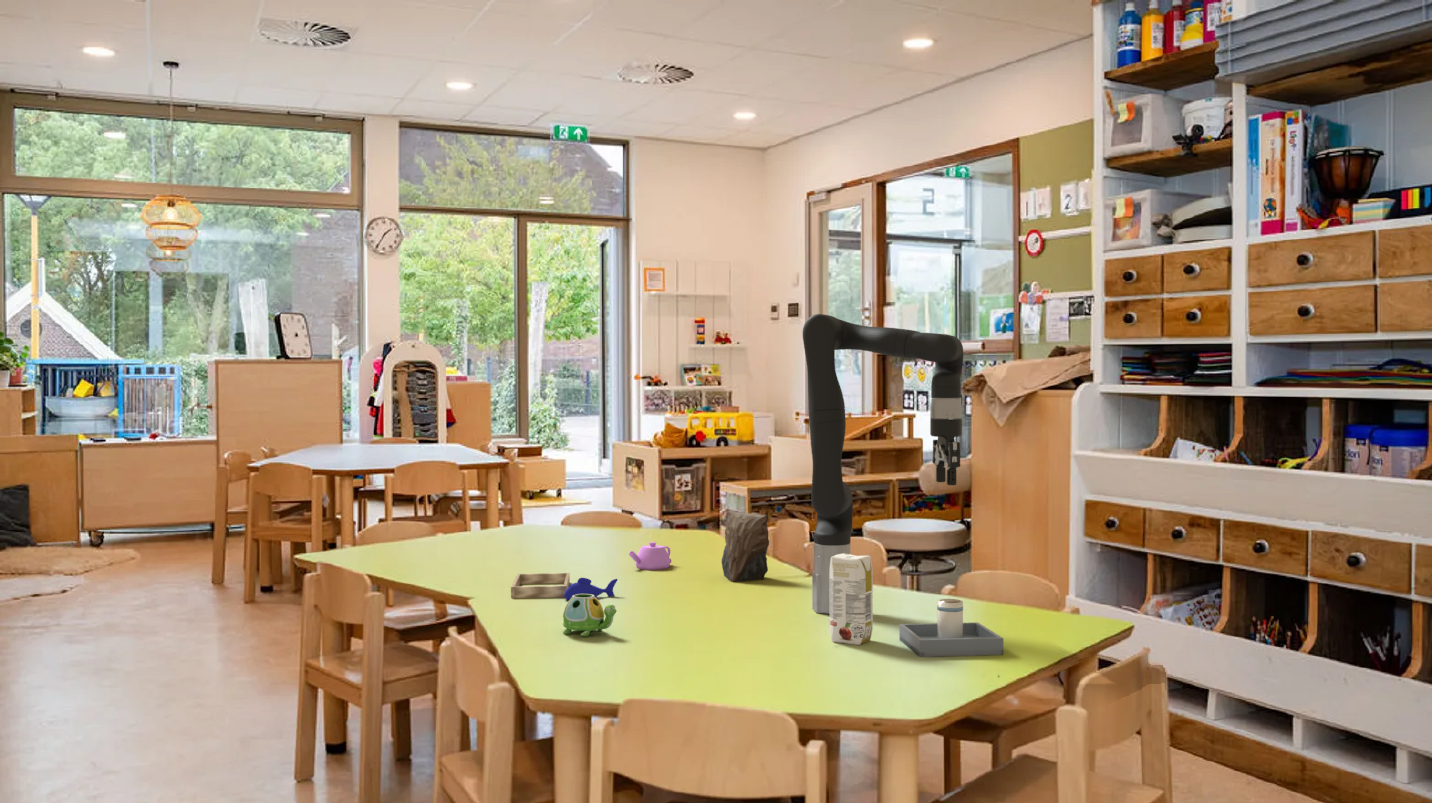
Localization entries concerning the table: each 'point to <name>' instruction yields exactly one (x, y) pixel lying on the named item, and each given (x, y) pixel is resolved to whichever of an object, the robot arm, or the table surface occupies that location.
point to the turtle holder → (586, 614)
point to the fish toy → (588, 588)
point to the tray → (951, 641)
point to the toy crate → (540, 590)
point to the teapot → (652, 557)
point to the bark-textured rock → (745, 547)
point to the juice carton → (851, 599)
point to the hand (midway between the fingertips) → (946, 483)
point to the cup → (949, 618)
